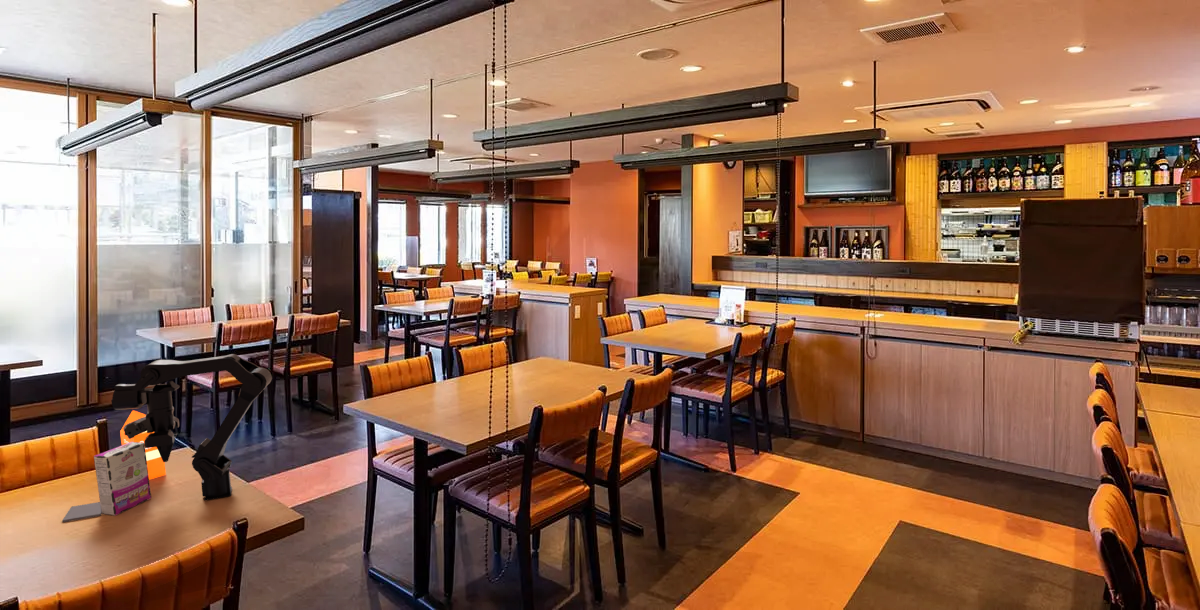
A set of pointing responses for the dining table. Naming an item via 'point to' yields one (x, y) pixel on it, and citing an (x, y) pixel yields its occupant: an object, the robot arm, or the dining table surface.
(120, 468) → the candy bar box
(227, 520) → the dining table surface
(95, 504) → the mat
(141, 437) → the orange juice
